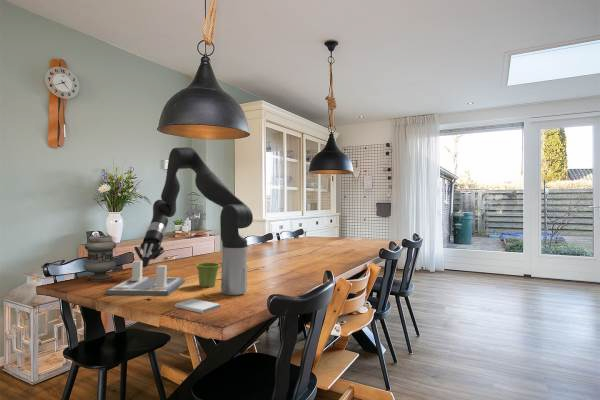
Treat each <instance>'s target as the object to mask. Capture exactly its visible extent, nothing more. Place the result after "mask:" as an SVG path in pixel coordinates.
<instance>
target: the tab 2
mask: <svg viewBox="0 0 600 400" xmlns="http://www.w3.org/2000/svg"><path fill="white" fill-rule="evenodd" d="M167 268H168V265H163V264H162V265H157V266H156V269H155V270H156V271H155V272H156V274H155V279H156V285H155V288H164V287H165V286H167V283H166V279H167V274H168V273H167V272H168V271H167V270H168V269H167Z"/></svg>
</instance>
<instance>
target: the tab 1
mask: <svg viewBox="0 0 600 400" xmlns="http://www.w3.org/2000/svg"><path fill="white" fill-rule="evenodd" d="M142 265H143V261H141V260H133V261H132V267H131V271H132V273H131V278H132V279H131V278H130V279H131V281H140V280H142V279H143V277H144V276H143V268H142Z"/></svg>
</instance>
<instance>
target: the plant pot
mask: <svg viewBox="0 0 600 400" xmlns="http://www.w3.org/2000/svg"><path fill="white" fill-rule="evenodd" d="M195 266H196V269H197V271H198V272H197V273H198V282H199V283H198V284H199V287H201V288H212V287H213V288H214V287H215V286H216V282H217V276H218V271H219V268H220V266H221V264H220V263H217V262H200V263H196V264H195Z"/></svg>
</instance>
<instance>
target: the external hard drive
mask: <svg viewBox="0 0 600 400" xmlns="http://www.w3.org/2000/svg"><path fill="white" fill-rule="evenodd" d="M174 307H175V308H180V309H181V310H186V311H187V310H188V311H191V312H195V313H199V314H205V313H208V312H211V311H213V310H217V309H220V308H222V303H221V304H220V303H215V302H211V301H206V300H201V299H197V298H190V299H186V300H183V301H181V302H177V303H175V304H174Z"/></svg>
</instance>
